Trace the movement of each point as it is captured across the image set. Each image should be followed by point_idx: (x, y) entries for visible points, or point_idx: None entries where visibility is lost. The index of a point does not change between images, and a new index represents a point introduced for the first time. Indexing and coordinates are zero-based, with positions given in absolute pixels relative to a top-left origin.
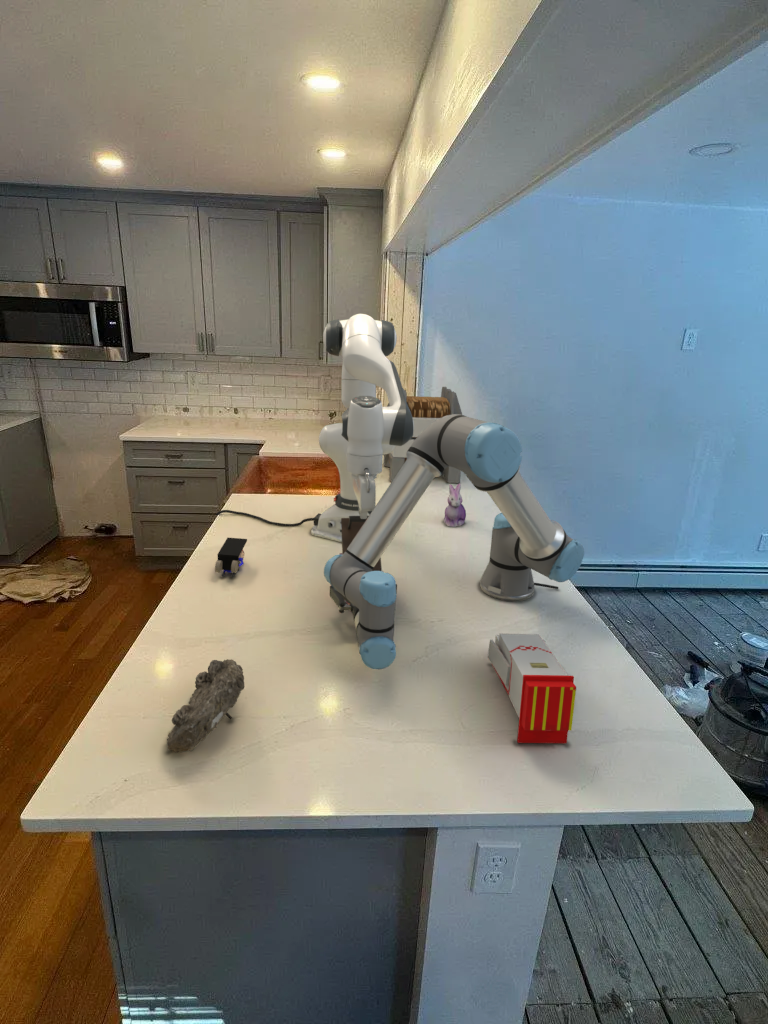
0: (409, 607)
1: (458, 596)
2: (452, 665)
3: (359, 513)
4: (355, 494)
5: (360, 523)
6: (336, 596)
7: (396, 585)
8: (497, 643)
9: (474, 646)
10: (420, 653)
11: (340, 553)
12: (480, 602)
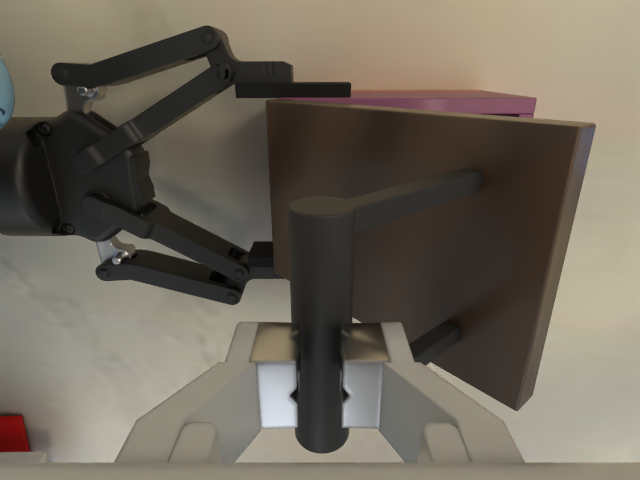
0: (279, 298)
1: None
2: (5, 341)
3: (340, 332)
4: (538, 474)
5: (493, 275)
6: (121, 54)
7: (227, 301)
8: (14, 461)
9: (93, 401)
10: (43, 283)
11: (532, 103)
12: (299, 461)
